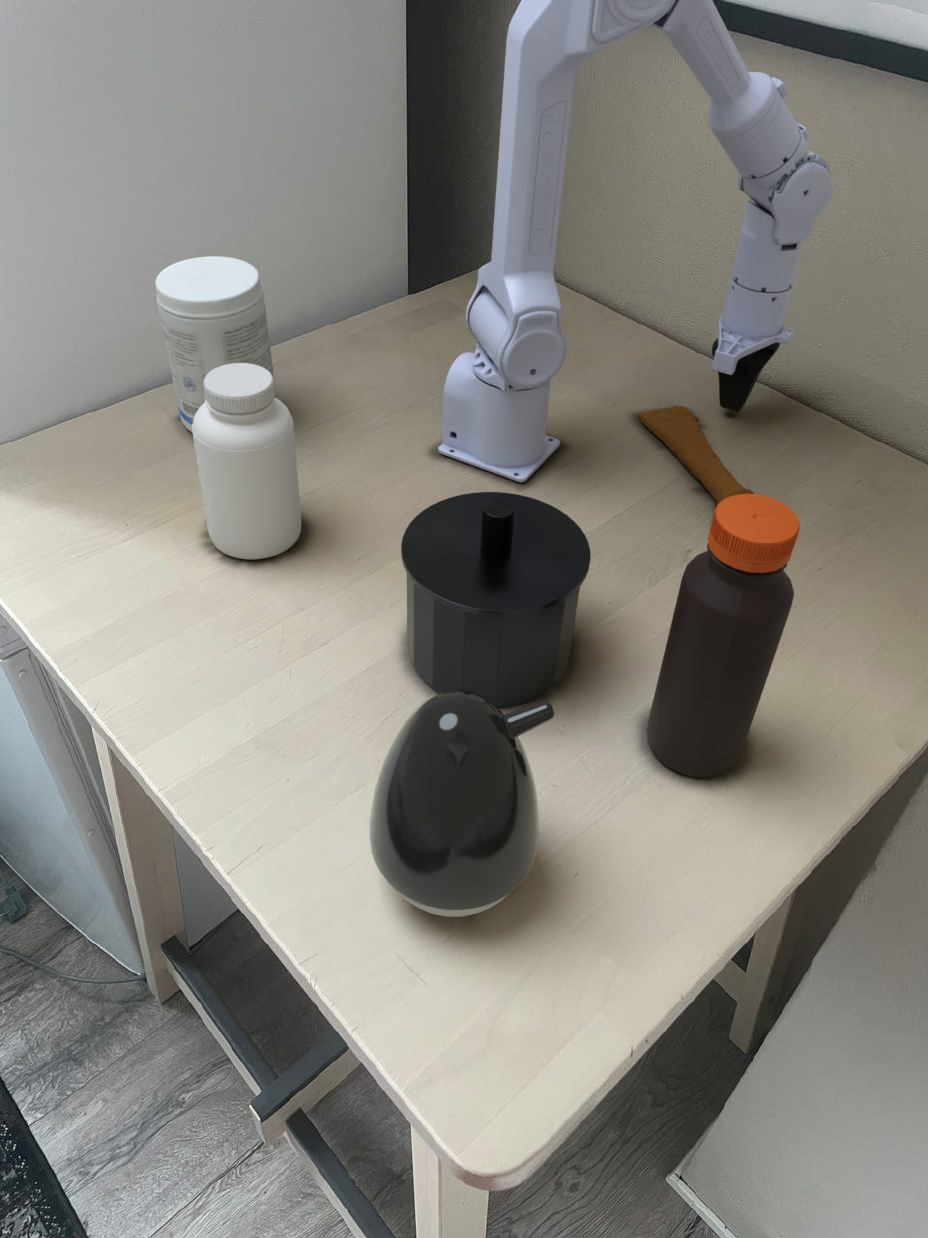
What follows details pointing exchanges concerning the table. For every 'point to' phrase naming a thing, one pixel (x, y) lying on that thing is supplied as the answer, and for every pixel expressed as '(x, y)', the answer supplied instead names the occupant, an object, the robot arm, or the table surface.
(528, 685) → the pot
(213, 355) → the supplement tub
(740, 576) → the bottle
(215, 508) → the pill bottle
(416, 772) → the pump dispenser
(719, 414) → the table surface
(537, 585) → the pot lid
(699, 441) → the primitive tool
